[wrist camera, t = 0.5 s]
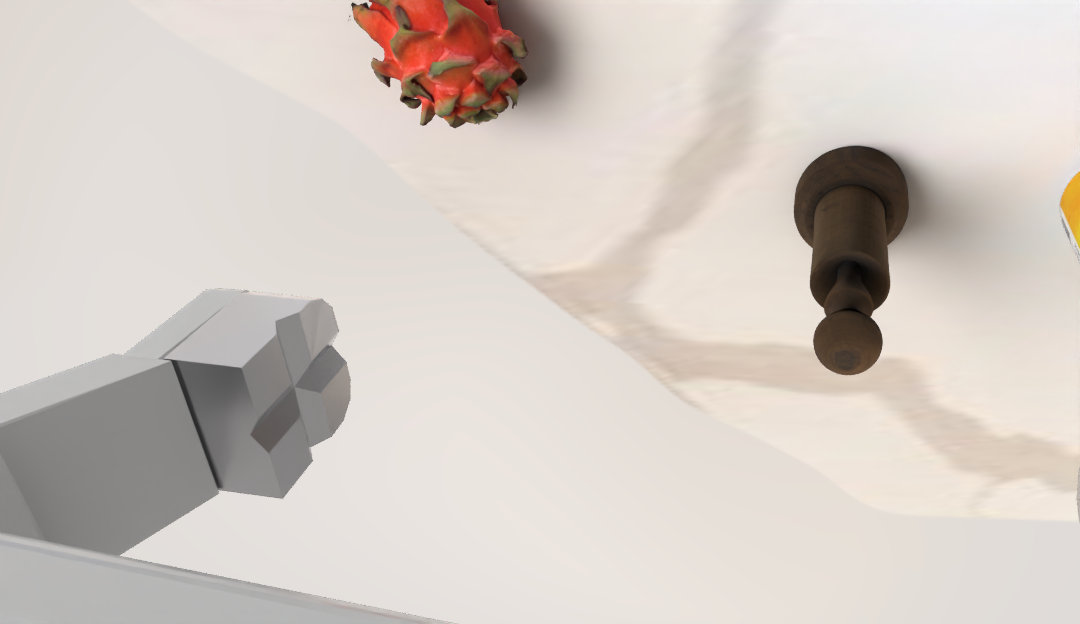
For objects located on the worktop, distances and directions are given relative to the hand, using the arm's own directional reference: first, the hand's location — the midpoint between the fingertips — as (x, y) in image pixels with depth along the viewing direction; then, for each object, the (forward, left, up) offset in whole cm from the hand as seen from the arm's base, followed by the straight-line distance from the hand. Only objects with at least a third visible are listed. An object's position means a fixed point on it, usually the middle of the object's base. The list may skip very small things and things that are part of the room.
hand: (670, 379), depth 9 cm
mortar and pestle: (+17, +6, -45) cm, 49 cm away
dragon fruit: (+11, -20, -45) cm, 51 cm away
